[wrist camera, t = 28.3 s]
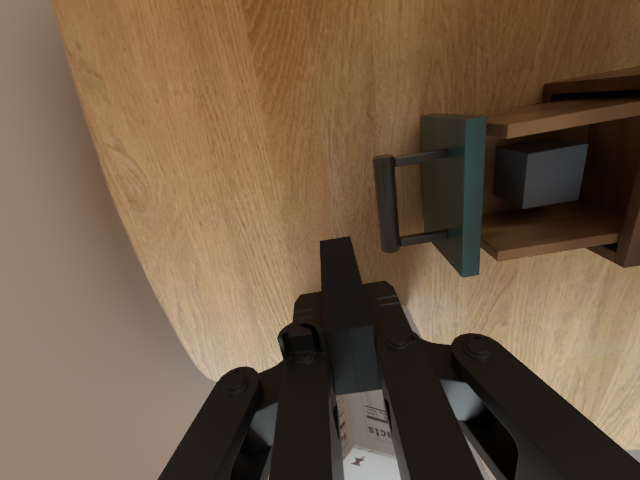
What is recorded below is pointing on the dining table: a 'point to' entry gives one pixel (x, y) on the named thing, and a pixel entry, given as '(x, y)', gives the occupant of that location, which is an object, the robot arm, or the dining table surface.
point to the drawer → (478, 176)
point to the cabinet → (636, 234)
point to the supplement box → (372, 434)
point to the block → (539, 172)
